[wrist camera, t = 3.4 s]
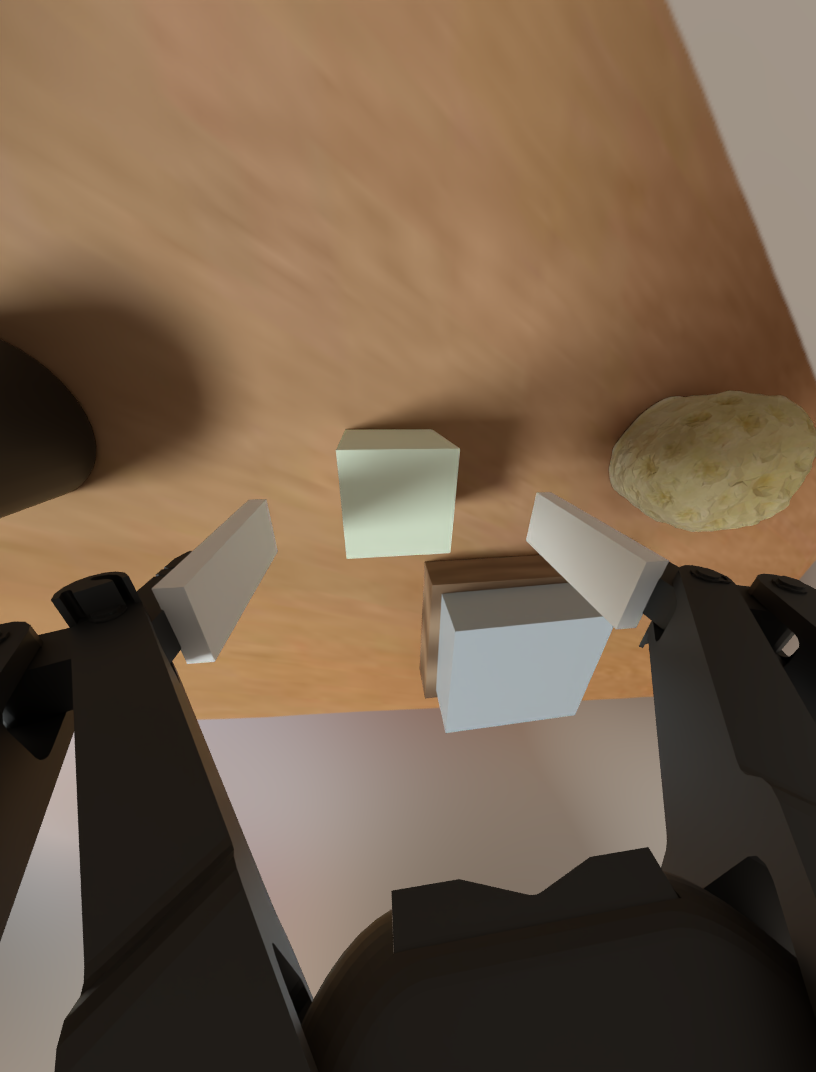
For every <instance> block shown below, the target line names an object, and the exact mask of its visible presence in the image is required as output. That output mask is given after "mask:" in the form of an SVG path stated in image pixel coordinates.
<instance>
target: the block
mask: <svg viewBox="0 0 816 1072" xmlns="http://www.w3.org/2000/svg"><path fill="white" fill-rule="evenodd" d="M336 455H337V465H338V475H339V485H340V495H341V505H342V515H343V525H344V536H345V546H346V556H347V559H351V558H369V557H387V556H405V555H423V554H441V553H450V551H451V540H452V529H453V519H454V508H455V497H456V487H457V476H458V465H459V455H460V448H458V447H457V446H456V445H454V444H453V443H451V442H450V441H448V440H447V439H445V438H444V437H443V436H441V435H440V434H438V433H437V432H435V431H434V430H432V429H368V430H345V431H344V434H343V436H342V438H341V440H340V442H339V445H338V447H337V449H336Z"/></svg>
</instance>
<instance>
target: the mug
mask: <svg viewBox="0 0 816 1072" xmlns="http://www.w3.org/2000/svg"><path fill="white" fill-rule="evenodd" d="M95 458H96V444H95V439H94V434H93V431H92V428H91V425H90V423H89V421H88V419H87V417H86V415H85V413H84V411H83V409H82V408H81V406H80V405H79V403H78V402H77V400H76V399H75V398H74V396H73V395H72V394H71V393H70V392H69V390H68V389H67V388H66V387H65V386H64V385H63V384H62V383H61V381H59V380H58V379H57V378H56V377H55V376H54V375H53V374H52V373H51V372H50V371H49V370H48V369H46V368H45V367H44V366H43V365H41V364H40V363H39V362H38V361H36V360H35V359H33V358H32V357H30V356H29V355H27V354H26V353H24V352H23V351H21V350H20V349H18V348H16V347H14V346H12V345H10V344H9V343H7V342H5V341H3V340H1V339H0V518H2V517H4V516H7V515H10V514H13V513H15V512H18V511H21V510H24V509H26V508H29V507H32V506H34V505H37V504H40V503H43V502H45V501H48V500H51V499H54V498H56V497H59V496H62V495H64V494H67V493H69V492H71V491H73V490H75V489H76V488H78V487H79V486H80V485H82V483H83V482H84V481H85V480H86V479H87V477H88V476H89V474H90V473H91V471H92V469H93V467H94V462H95Z"/></svg>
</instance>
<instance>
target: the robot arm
mask: <svg viewBox="0 0 816 1072" xmlns="http://www.w3.org/2000/svg"><path fill="white" fill-rule="evenodd" d="M526 541H527V542H528V543H529V544H530V545H531V546H532V547H533V548H534V549H535V550H536V551H537V552H538V553H539V554H540V555H541V556H542V557H543V558H544V559H545V560H546V561H547V562H548V563H549V564H550V565H551V566H552V567H553V568H554V569H555V570H556V571H557V572H558V573H559V574H560V575H562V576H563V577H564V578H565V579H566V580H567V581H568V582H569V583H570V584H571V585H572V586H573V587H574V588H575V589H576V590H577V591H578V592H579V593H580V594H581V595H582V596H583V597H584V598H585V599H586V600H587V601H588V602H589V603H590V604H591V605H592V606H593V607H594V608H595V609H596V610H597V611H598V612H599V613H600V614H601V615H602V616H603V617H604V618H605V619H606V620H607V621H608V622H609V623H610V624H611V625H612V626H613V627H614V628H615V629H626V628H636V627H637V625H638V623H639V621H640V619H641V617H642V615H643V614H644V615H646V616H647V617H648V618H649V619H651V620H652V621H651V623H650V625H649V627H648V629H647V631H646V633H645V635H644V637H643V639H642V641H641V643H640V645H639V647H642V648H643V647H644V645H645V644H648V643H649V652H650V662H651V673H652V684H653V694H654V705H655V714H656V726H657V736H658V747H659V756H660V757H659V758H660V768H661V779H662V788H663V800H664V810H665V821H666V831H667V846H666V852H665V856H664V859H663V863H662V866H661V867H660V866H659V864H658V863H657V861H656V859H655V857H654V856H653V854H652V853H651V851H650V849H649V848H648V847H647V848H640V849H635V850H629V851H623V852H617V853H611V854H606V855H599V856H593V857H589V858H588V859H587V860H585V861H584V862H583V863H581V864H580V865H579V866H577V867H576V868H574V869H573V870H572V871H570V872H569V873H567V874H566V875H565V876H563V877H562V878H561V879H559V880H558V881H556V882H555V883H553V884H552V885H551V886H549V887H548V888H547V889H545V890H544V891H542V892H541V893H539V894H537V895H527V894H522V893H518V892H513V891H509V890H504V889H500V888H496V887H491V886H487V885H482V884H478V883H473V882H469V881H465V880H460V879H458V880H452V881H446V882H440V883H435V884H429V885H423V886H417V887H411V888H405V889H399V890H393V891H392V910H390V911H388V912H387V913H385V914H384V915H382V916H381V917H379V918H378V919H376V920H375V921H374V922H373V923H372V924H371V925H369V926H368V927H367V928H366V929H365V930H364V931H363V932H361V933H360V934H359V935H358V936H357V938H356V939H355V940H354V941H353V942H352V943H351V944H350V946H349V947H348V948H347V949H346V950H345V951H344V953H343V954H342V955H341V957H340V958H339V959H338V961H337V962H336V964H335V965H334V967H333V968H332V969H331V971H330V972H329V974H328V975H327V977H326V978H325V980H324V982H323V984H322V985H321V987H320V989H319V991H318V992H317V994H316V996H315V998H314V999H313V997H312V994H311V992H310V990H309V987H308V985H307V982H306V980H305V977H304V975H303V973H302V970H301V968H300V966H299V963H298V961H297V958H296V956H295V954H294V951H293V949H292V947H291V944H290V942H289V940H288V938H287V935H286V933H285V931H284V929H283V927H282V925H281V923H280V921H279V919H278V916H277V914H276V912H275V910H274V907H273V905H272V903H271V900H270V898H269V895H268V893H267V890H266V888H265V886H264V883H263V881H262V878H261V876H260V873H259V871H258V868H257V866H256V863H255V861H254V859H253V856H252V854H251V851H250V849H249V846H248V844H247V841H246V839H245V837H244V834H243V832H242V829H241V827H240V825H239V822H238V819H237V817H236V814H235V812H234V810H233V807H232V805H231V802H230V800H229V798H228V795H227V792H226V790H225V787H224V785H223V783H222V780H221V778H220V775H219V773H218V770H217V768H216V765H215V763H214V761H213V758H212V756H211V753H210V751H209V748H208V746H207V743H206V741H205V739H204V736H203V734H202V731H201V729H200V726H199V724H198V721H197V719H196V716H195V714H194V712H193V709H192V707H191V704H190V702H189V699H188V697H187V694H186V692H185V689H184V687H183V685H182V682H181V680H180V677H179V675H178V672H177V670H176V668H175V666H174V664H173V662H172V661H173V659H174V658H175V657H176V655H177V654H178V653H179V651H180V650H181V651H182V653H183V656H184V658H185V660H186V662H187V664H191V663H204V662H215V660H216V659H217V657H218V655H219V653H220V652H221V650H222V648H223V646H224V645H225V643H226V641H227V639H228V638H229V636H230V634H231V632H232V631H233V629H234V627H235V625H236V624H237V622H238V620H239V618H240V617H241V615H242V613H243V611H244V610H245V608H246V606H247V604H248V603H249V601H250V599H251V597H252V596H253V594H254V592H255V590H256V589H257V587H258V585H259V583H260V582H261V580H262V578H263V576H264V575H265V573H266V571H267V569H268V568H269V566H270V564H271V562H272V561H273V559H274V557H275V555H276V553H277V552H278V550H277V546H276V541H275V536H274V532H273V527H272V523H271V518H270V514H269V509H268V505H267V500H266V499H255V500H248V501H247V502H246V503H245V504H244V505H242V506H241V507H240V508H239V509H238V510H237V511H236V512H235V513H234V514H233V515H231V516H230V517H229V518H228V519H227V520H226V521H225V522H224V523H223V524H222V525H221V526H219V527H218V528H217V529H216V530H215V531H214V532H213V533H212V534H211V535H210V536H209V537H207V538H206V539H205V540H204V541H203V542H202V543H201V544H200V545H199V546H198V547H197V548H195V549H194V550H193V551H188V552H186V553H185V554H183V555H181V556H179V557H177V558H175V559H174V560H172V561H171V562H170V563H169V564H168V565H167V566H165V567H164V569H162V570H161V571H160V572H159V573H157V574H156V577H153V578H152V579H151V580H149V581H148V582H147V583H146V584H145V585H144V586H142V587H141V588H140V589H139V590H138V591H137V592H136V590H135V588H134V586H133V584H132V582H131V580H130V578H129V576H128V575H127V574H126V573H123V572H107V573H101V574H97V575H93V576H89V577H86V578H83V579H81V580H78V581H75V582H73V583H71V584H69V585H67V586H65V587H63V588H62V589H61V590H59V591H58V592H57V593H55V594H54V596H53V597H52V599H51V601H52V602H53V604H54V605H55V607H56V608H57V610H58V611H59V613H60V614H61V615H62V617H63V618H64V620H65V621H66V623H67V624H68V626H69V627H70V628H67V629H63V630H58V631H54V632H50V633H45V634H41V635H37V633H36V632H35V631H34V629H33V628H32V627H31V625H29V624H28V623H26V622H10V623H4V624H0V941H1V937H2V935H3V932H4V929H5V926H6V923H7V921H8V918H9V915H10V912H11V909H12V906H13V904H14V901H15V898H16V895H17V892H18V889H19V886H20V884H21V881H22V878H23V875H24V872H25V869H26V867H27V864H28V861H29V858H30V855H31V852H32V849H33V847H34V844H35V841H36V838H37V835H38V832H39V829H40V827H41V824H42V821H43V818H44V815H45V812H46V809H47V806H48V804H49V801H50V798H51V795H52V792H53V790H54V787H55V784H56V781H57V778H58V775H59V773H60V770H61V767H62V764H63V761H64V758H65V756H66V753H67V750H68V747H69V744H70V741H71V738H72V735H73V733H75V758H76V781H77V803H78V804H77V805H78V827H79V851H80V874H81V897H82V921H83V944H84V984H83V988H82V992H81V996H80V998H79V999H78V1001H77V1002H76V1004H75V1005H74V1007H73V1008H72V1010H71V1011H70V1013H69V1014H68V1016H67V1017H66V1018H65V1020H64V1023H63V1027H62V1030H61V1034H60V1038H59V1041H58V1045H57V1049H56V1061H55V1072H816V589H814V588H812V587H811V586H809V585H806V584H804V583H802V582H801V581H799V580H797V579H794V578H790V577H787V576H778V575H773V574H760V575H758V576H757V577H756V579H755V580H754V582H753V583H752V585H751V586H750V587H748V586H740V585H736V584H735V583H734V582H733V581H732V580H731V579H729V578H728V577H727V576H724V575H723V574H720V573H718V572H716V571H714V570H711V569H708V568H703V567H699V566H693V565H684V566H681V567H677V566H676V565H674V564H672V563H671V562H669V560H667V559H665V558H664V557H662V556H660V555H658V554H657V553H655V552H653V551H652V550H650V549H648V548H646V547H645V546H643V545H641V544H640V543H638V542H636V541H634V540H633V539H631V538H629V537H627V536H626V535H624V534H622V533H621V532H619V531H617V530H615V529H614V528H612V527H610V526H608V525H607V524H605V523H603V522H602V521H600V520H598V519H596V518H595V517H593V516H591V515H590V514H588V513H586V512H584V511H583V510H581V509H579V508H577V507H576V506H574V505H572V504H571V503H569V502H567V501H565V500H564V499H562V498H560V497H558V496H557V495H555V494H553V493H552V492H537V493H536V498H535V502H534V507H533V511H532V516H531V520H530V525H529V529H528V534H527V538H526ZM794 634H795V635H796V636H797V638H798V640H799V648H798V649H797V650H796V651H795V652H794V654H792V655H791V656H790V657H788V656H787V655H786V654H785V653H784V652H783V651H782V648H783V647H784V646H785V645H786V644H787V643H788V641H789V640H790V639H791V638H792V636H793V635H794ZM392 917H393V927H392ZM393 943H394V952H393Z"/></svg>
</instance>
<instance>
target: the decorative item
mask: <svg viewBox="0 0 816 1072" xmlns="http://www.w3.org/2000/svg"><path fill="white" fill-rule="evenodd" d="M815 457H816V429H815V427H814V425H813V422H812V420H811V419H810V418H809V416H808V415H807V413H806V412H805V411H804V410H803V409H802V407H801V406H798V405H797V404H795V403H794V402H792V401H790V400H789V399H788V398H786V397H785V396H782V395H776V396H766V395H763V394H751V393H746V392H742V391H730V390H728V391H725V392H722V393H719V394H711V395H701V396H697V395H695V396H693V395H692V396H689V397H681V396H674V397H669V398H666V399H663V400H661V401H660V402H658V403H656V404H654V405H653V406H651V407H650V408H648V409H647V410H646V411H645V412H644V413H642V414H641V415H640V416H639V417H638V418H637V419H636V420H635V421H634V422H633V423H632V425H631V426H630V427H629V428H628V429H627V430H626V431H625V433H624V434H623V435H622V437H621V438H620V439H619V440H618V442H617V443H616V444H615V446H614V448H613V451H612V457H611V461H610V466H609V476H610V481H611V485H612V487H613V489H614V490H616V491H617V492H618V493H619V494H620V495H621V496H623V497H625V498H626V499H627V500H628V501H629V502H630V503H631V504H632V505H633V506H635V507H637V508H639V509H640V510H641V512H643V513H644V514H645V515H647V516H649V517H651V518H652V519H654V520H655V521H658V522H663V523H667V524H669V525H672V526H674V527H675V528H680V529H684V530H687V531H691V532H695V531H697V532H701V531H717V530H725V529H736V528H741V527H744V526H752V525H755V524H758V523H759V522H760V521H761V520H764V519H768V518H770V517H772V516H774V515H775V514H776V513H778V512H780V511H782V510H784V509H785V508H786V507H787V506H788V505H789V501H790V499H791V497H792V495H793V494H794V493H795V492H796V491H797V490H798V489H799V487H800V486H801V484H802V483H803V482H804V480H805V477H806V475H807V474H808V473H809V472H810V470H811V468H812V462H813V460H814V458H815Z"/></svg>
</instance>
